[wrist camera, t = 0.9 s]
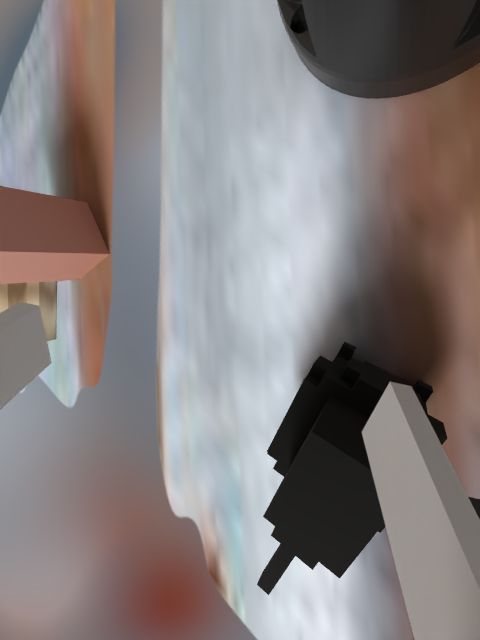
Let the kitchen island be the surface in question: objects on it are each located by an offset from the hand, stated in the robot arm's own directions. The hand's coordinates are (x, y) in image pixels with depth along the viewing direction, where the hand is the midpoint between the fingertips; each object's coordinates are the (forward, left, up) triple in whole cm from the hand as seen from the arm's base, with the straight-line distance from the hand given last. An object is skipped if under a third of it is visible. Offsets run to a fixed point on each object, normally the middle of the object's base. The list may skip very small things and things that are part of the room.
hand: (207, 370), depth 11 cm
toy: (+8, +5, -13) cm, 16 cm away
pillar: (-1, -25, -13) cm, 29 cm away
